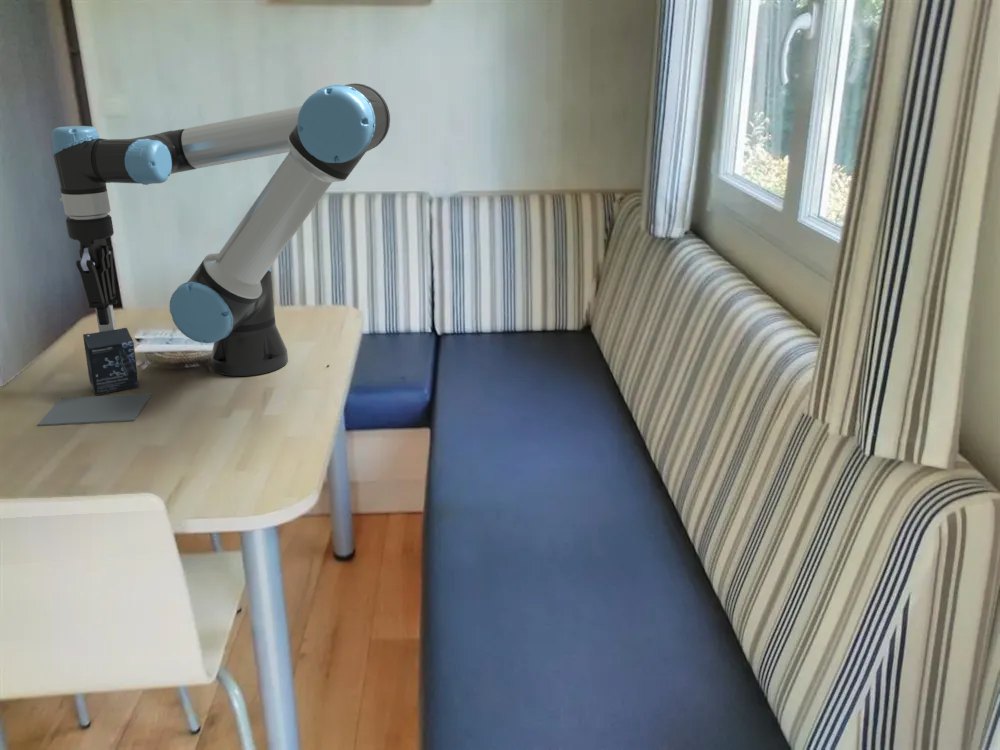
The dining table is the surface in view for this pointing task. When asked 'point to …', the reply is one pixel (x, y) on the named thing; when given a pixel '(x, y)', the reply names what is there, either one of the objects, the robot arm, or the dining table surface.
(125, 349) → the box
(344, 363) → the dining table surface
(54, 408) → the mat
